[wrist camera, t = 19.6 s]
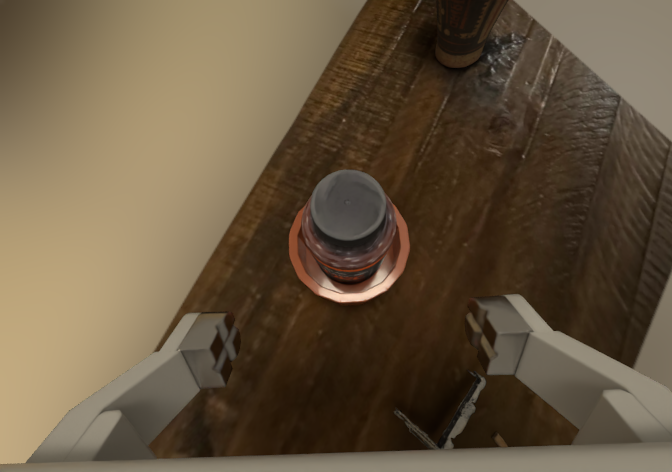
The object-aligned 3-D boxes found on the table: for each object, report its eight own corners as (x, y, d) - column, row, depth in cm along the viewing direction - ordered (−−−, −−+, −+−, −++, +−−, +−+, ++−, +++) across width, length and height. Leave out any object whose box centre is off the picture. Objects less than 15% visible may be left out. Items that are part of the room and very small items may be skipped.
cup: (427, 12, 33) (456, -111, 24) (500, 34, 32) (563, -89, 22) (395, 63, 31) (413, -48, 22) (471, 90, 30) (526, -18, 20)
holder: (393, 204, 27) (401, 181, 22) (406, 302, 24) (417, 298, 20) (299, 211, 27) (288, 191, 23) (300, 308, 24) (289, 306, 20)
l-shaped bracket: (386, 380, 22) (400, 455, 20) (387, 382, 21) (403, 462, 19) (476, 367, 22) (499, 441, 20) (483, 368, 21) (508, 448, 19)
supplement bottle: (312, 281, 24) (278, 251, 14) (322, 218, 26) (299, 147, 15) (380, 290, 24) (401, 266, 13) (386, 225, 25) (409, 156, 15)
